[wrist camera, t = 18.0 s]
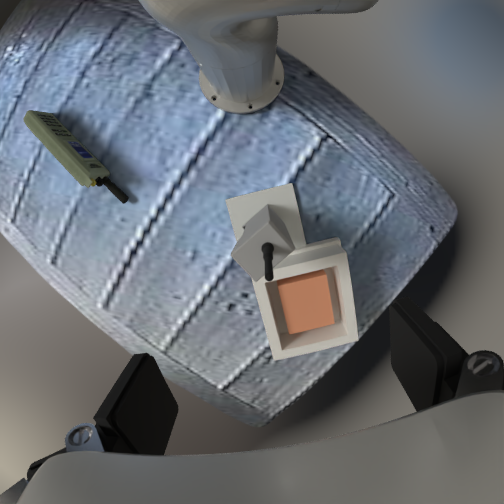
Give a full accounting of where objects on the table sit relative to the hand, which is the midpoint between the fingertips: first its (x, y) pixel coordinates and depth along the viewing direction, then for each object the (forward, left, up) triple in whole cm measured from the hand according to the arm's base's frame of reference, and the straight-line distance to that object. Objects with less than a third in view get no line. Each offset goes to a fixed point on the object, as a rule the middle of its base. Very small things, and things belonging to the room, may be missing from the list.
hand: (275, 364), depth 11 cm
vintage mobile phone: (0, -1, -35) cm, 35 cm away
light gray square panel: (0, 0, -35) cm, 35 cm away
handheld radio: (-19, -27, -36) cm, 49 cm away
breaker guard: (+12, +3, -35) cm, 38 cm away
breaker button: (+12, +3, -33) cm, 35 cm away
